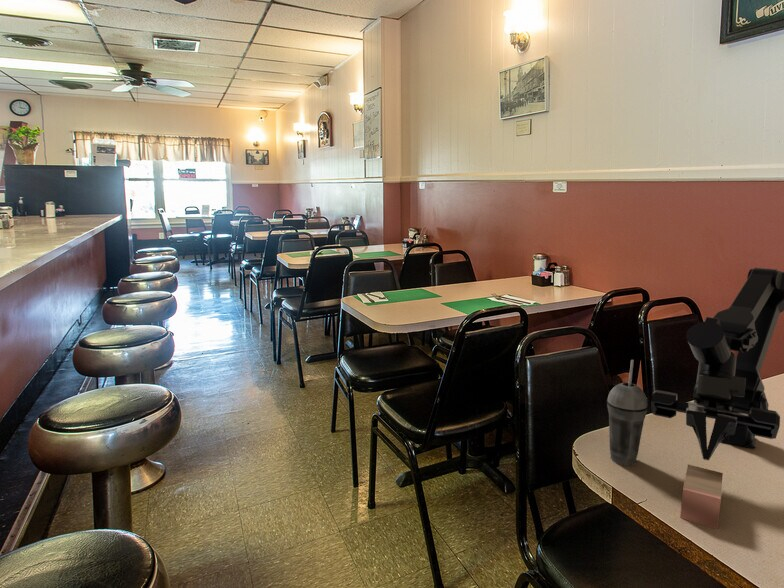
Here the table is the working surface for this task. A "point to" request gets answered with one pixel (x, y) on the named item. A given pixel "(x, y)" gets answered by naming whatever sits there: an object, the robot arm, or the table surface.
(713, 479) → the wooden block
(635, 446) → the beverage cup
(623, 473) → the table surface
